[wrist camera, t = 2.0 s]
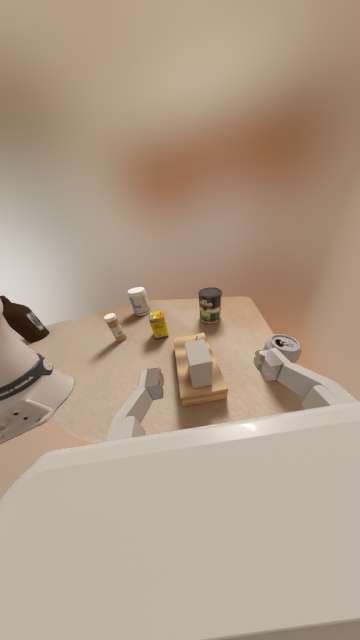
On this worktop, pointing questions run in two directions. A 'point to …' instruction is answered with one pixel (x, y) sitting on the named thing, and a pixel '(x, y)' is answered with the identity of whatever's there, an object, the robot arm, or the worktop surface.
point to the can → (285, 346)
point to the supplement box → (158, 324)
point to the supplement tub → (139, 301)
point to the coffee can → (210, 304)
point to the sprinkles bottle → (115, 327)
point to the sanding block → (199, 363)
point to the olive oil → (23, 321)
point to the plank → (184, 378)
